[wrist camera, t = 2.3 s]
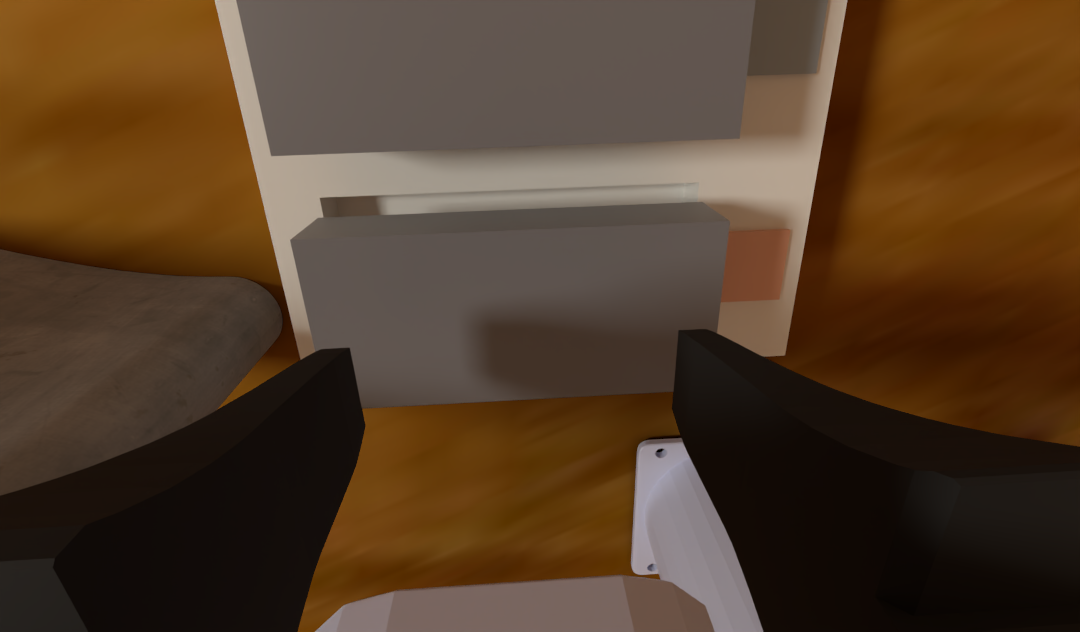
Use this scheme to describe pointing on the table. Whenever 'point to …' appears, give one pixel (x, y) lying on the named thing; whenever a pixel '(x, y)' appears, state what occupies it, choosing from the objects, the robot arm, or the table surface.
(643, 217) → the button
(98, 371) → the hip flask
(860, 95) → the table surface
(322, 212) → the switch unit
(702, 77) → the button middle
